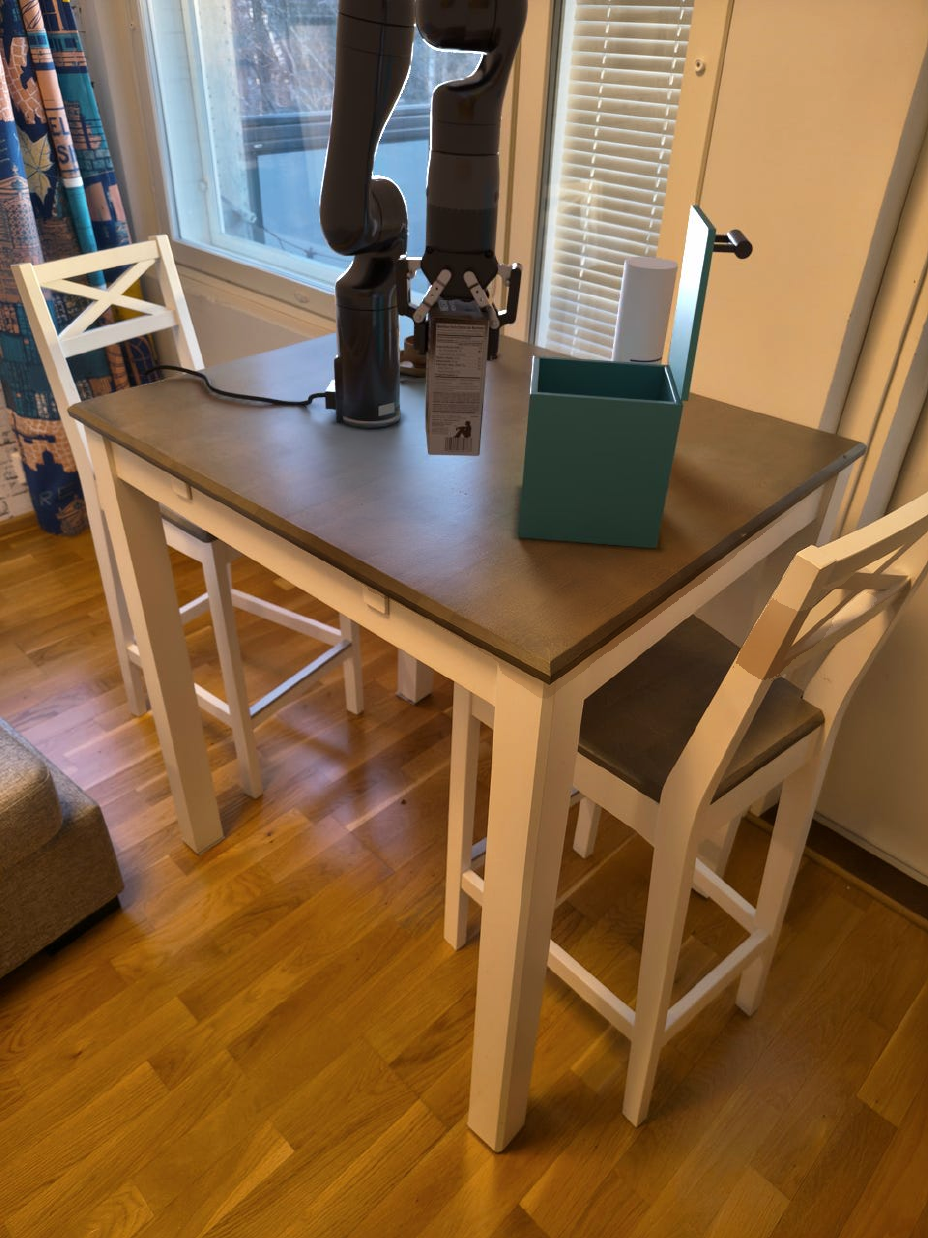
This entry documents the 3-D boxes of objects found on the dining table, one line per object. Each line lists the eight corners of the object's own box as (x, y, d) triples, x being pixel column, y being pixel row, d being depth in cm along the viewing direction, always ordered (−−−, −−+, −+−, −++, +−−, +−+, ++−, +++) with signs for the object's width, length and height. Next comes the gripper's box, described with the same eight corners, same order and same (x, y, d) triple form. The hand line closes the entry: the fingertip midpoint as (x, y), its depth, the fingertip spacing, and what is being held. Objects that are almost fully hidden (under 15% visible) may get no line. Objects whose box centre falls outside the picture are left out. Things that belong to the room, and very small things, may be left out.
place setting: (387, 351, 163) (387, 318, 160) (495, 352, 165) (497, 320, 162) (391, 384, 149) (391, 348, 145) (509, 384, 151) (511, 349, 148)
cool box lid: (708, 228, 86) (765, 231, 85) (691, 205, 97) (741, 206, 97) (680, 400, 95) (731, 403, 95) (668, 360, 107) (713, 363, 106)
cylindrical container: (647, 448, 131) (678, 270, 117) (599, 442, 132) (623, 265, 118) (649, 430, 136) (678, 259, 122) (602, 425, 137) (626, 254, 123)
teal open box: (517, 537, 106) (530, 393, 96) (521, 488, 118) (533, 355, 108) (656, 548, 106) (683, 404, 96) (647, 498, 117) (670, 364, 107)
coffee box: (423, 425, 111) (427, 292, 102) (474, 426, 112) (482, 294, 103) (426, 455, 104) (431, 315, 94) (480, 456, 104) (491, 317, 95)
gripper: (532, 198, 95) (519, 351, 105) (400, 188, 96) (398, 341, 105) (529, 210, 89) (516, 372, 98) (388, 200, 90) (388, 361, 99)
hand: (455, 355), depth 102 cm, fingers closed on coffee box, 7 cm apart
